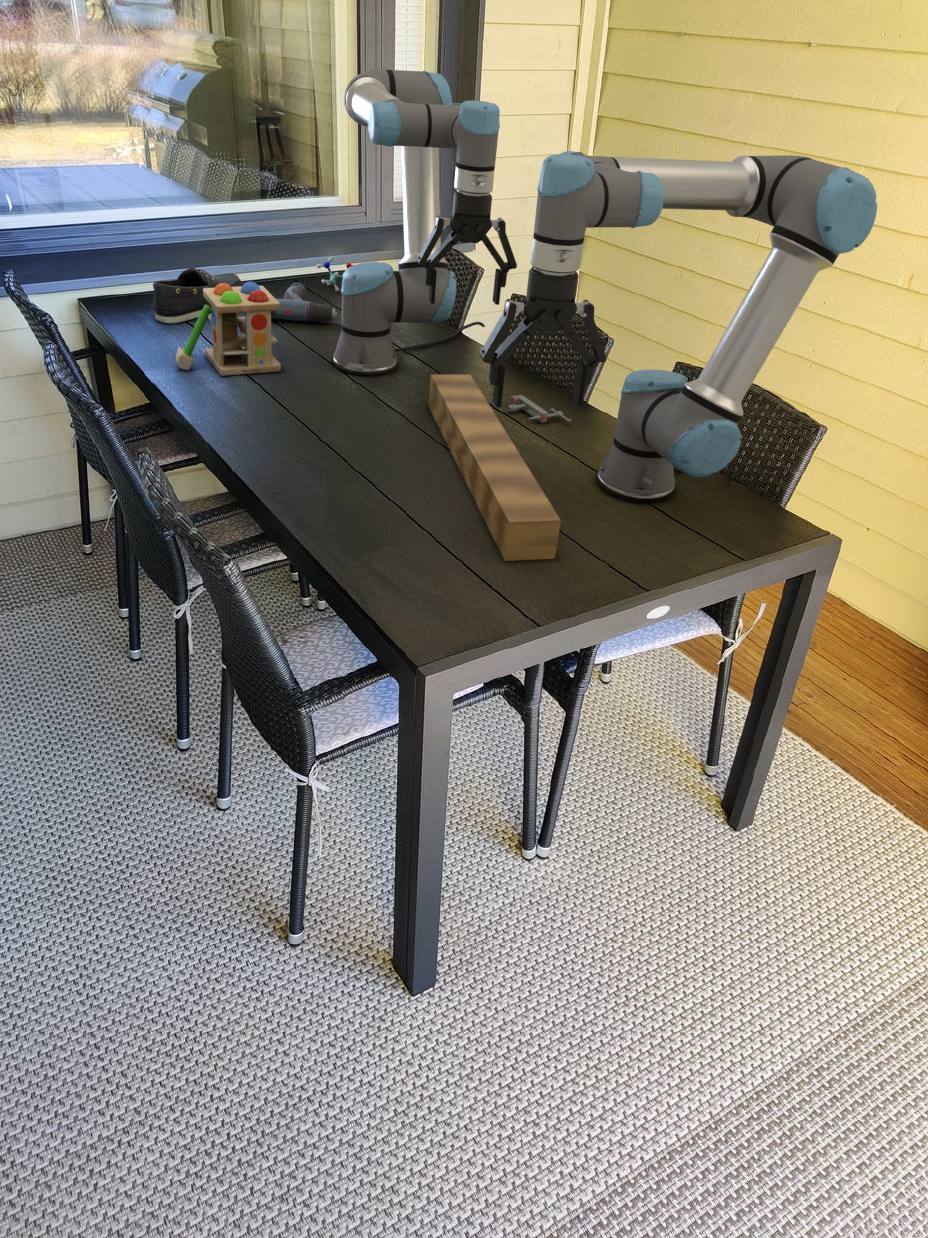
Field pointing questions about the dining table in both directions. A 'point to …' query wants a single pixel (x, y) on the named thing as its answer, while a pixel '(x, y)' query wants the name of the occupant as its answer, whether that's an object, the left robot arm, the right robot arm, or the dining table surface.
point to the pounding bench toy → (229, 347)
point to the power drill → (301, 307)
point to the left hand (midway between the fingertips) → (463, 302)
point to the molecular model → (332, 276)
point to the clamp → (526, 405)
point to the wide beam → (494, 470)
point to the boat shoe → (186, 294)
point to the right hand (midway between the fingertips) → (537, 403)
